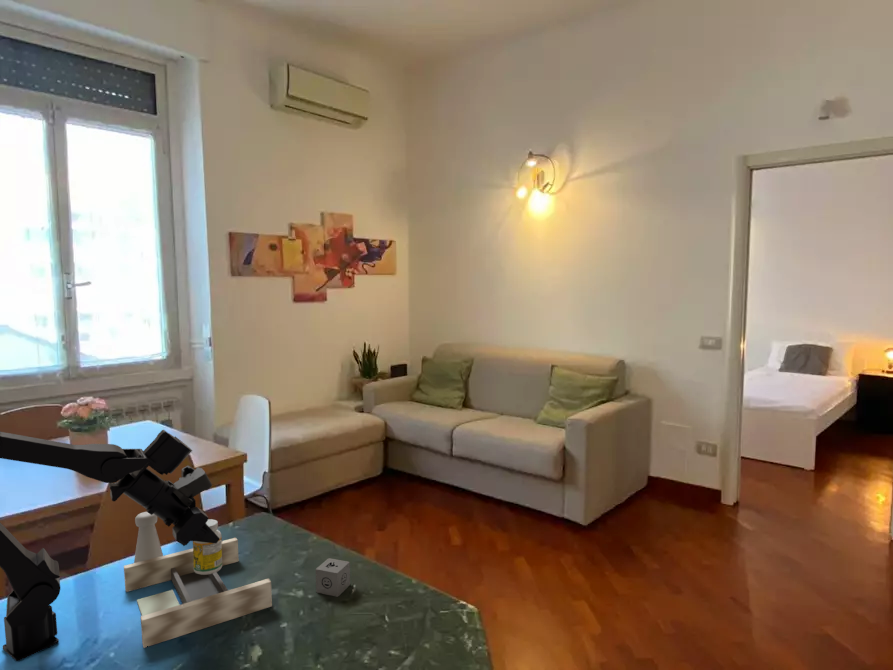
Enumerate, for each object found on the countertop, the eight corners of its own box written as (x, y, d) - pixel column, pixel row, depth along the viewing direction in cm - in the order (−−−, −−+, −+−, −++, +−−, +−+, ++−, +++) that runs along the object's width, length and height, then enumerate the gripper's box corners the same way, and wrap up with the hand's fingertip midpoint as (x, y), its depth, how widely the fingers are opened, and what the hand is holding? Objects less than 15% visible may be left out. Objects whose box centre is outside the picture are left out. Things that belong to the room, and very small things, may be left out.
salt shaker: (169, 565, 133) (166, 508, 132) (154, 578, 128) (151, 519, 126) (144, 564, 134) (141, 508, 133) (128, 577, 128) (124, 518, 127)
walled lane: (143, 647, 104) (141, 620, 103) (125, 589, 123) (123, 565, 123) (271, 606, 117) (271, 581, 116) (236, 558, 136) (235, 537, 136)
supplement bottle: (224, 572, 120) (223, 525, 119) (194, 577, 117) (193, 530, 116) (220, 560, 125) (219, 516, 124) (192, 566, 122) (191, 520, 121)
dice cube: (329, 580, 126) (328, 558, 126) (350, 584, 125) (349, 561, 124) (316, 592, 122) (315, 569, 121) (337, 597, 120) (337, 573, 119)
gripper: (195, 471, 109) (256, 517, 116) (174, 447, 124) (230, 489, 132) (148, 522, 105) (215, 567, 112) (132, 491, 120) (192, 532, 128)
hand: (214, 535), depth 121 cm, fingers closed on supplement bottle, 5 cm apart
